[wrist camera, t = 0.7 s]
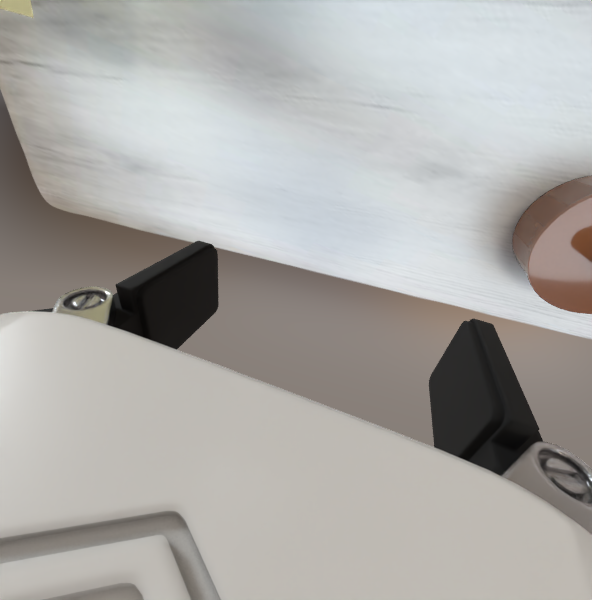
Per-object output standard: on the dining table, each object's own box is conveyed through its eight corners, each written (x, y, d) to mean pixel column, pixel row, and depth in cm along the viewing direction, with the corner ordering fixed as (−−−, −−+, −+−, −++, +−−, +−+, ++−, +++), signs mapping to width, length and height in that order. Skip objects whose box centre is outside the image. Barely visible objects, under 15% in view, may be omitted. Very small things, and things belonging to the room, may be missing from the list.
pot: (548, 166, 32) (579, 176, 26) (687, 185, 29) (755, 200, 23) (493, 266, 39) (508, 291, 33) (600, 288, 36) (637, 320, 30)
